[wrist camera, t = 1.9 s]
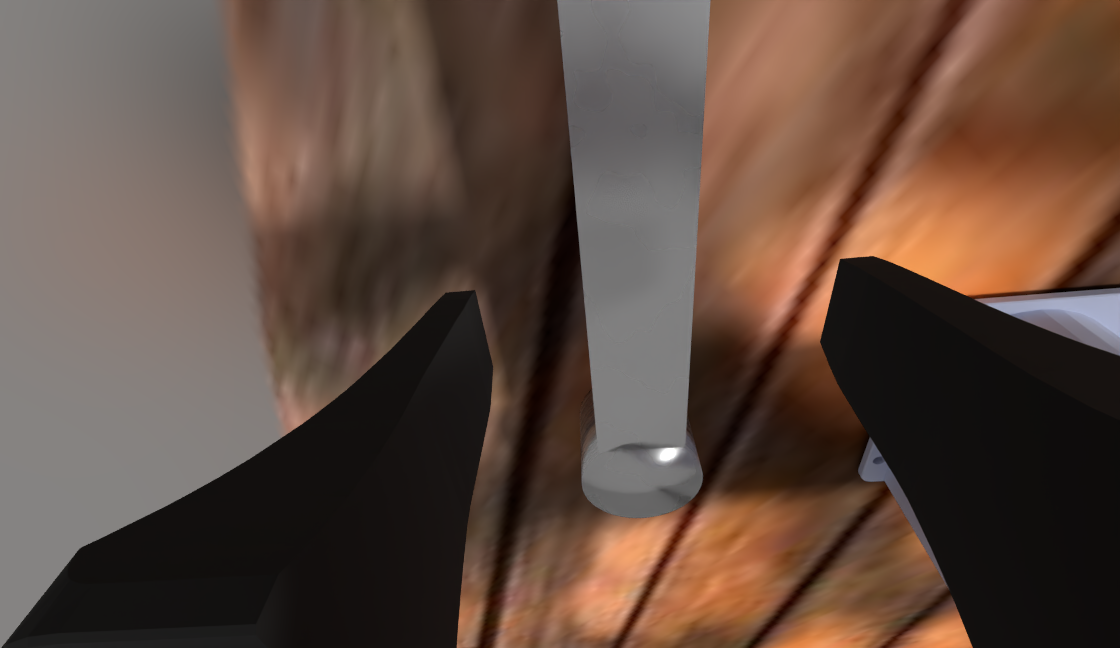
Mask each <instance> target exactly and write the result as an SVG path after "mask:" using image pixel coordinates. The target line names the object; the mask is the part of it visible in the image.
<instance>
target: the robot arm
mask: <svg viewBox="0 0 1120 648" xmlns="http://www.w3.org/2000/svg"><path fill="white" fill-rule="evenodd" d="M820 343H821V345H822V348H823V350H824V353H825V355H826V358H827V361H828V363H829V366H830V368H831V370H832V372H833V375H834V377H835V379H836V381H837V384H838V385H839V387H840V389H841V390H842V392H843V394H844V396H845V397H846V399H847V400H848V402H849V404H850V405H851V407H852V409H853V410H854V412H855V414H856V415H857V417H858V419H859V420H860V422H861V423H862V425H863V427H864V428H865V430H866V431H867V433H868V435H869V436H870V438H869V441H868V444H867V446H866V449H865V452H864V455H863V458H862V460H861V463H860V466H859V469H858V473H859V475H860V476H861V478H862V479H863V480H865V481H869V482H873V481H885V483H886V484H887V486H888V488H889V489H890V491H891V493H892V494H893V496H894V498H895V499H896V501H897V503H898V505H899V506H900V508H901V510H902V511H903V513H904V515H905V516H906V518H907V520H908V521H909V523H910V525H911V526H912V528H913V530H914V531H915V533H916V535H917V536H918V538H919V540H920V541H921V543H922V545H923V547H924V548H925V550H926V552H927V553H928V555H929V557H930V558H931V560H932V562H933V563H934V565H935V567H936V568H937V570H938V572H939V573H940V575H941V577H942V578H943V580H944V582H945V584H946V585H947V587H948V589H949V590H950V593H951V595H952V597H953V599H954V602H955V604H956V607H957V609H958V612H959V614H960V617H961V619H962V622H963V624H964V627H965V629H966V632H967V634H968V637H969V639H970V642H971V644H972V647H973V648H1120V288H1112V289H1099V290H1086V291H1073V292H1060V293H1047V294H1034V295H1021V296H1008V297H995V298H982V299H972V298H970V297H968V296H966V295H963V294H961V293H959V292H957V291H954V290H952V289H950V288H948V287H946V286H943V285H941V284H939V283H937V282H934V281H932V280H930V279H928V278H926V277H923V276H921V275H919V274H917V273H914V272H912V271H910V270H908V269H905V268H903V267H901V266H898V265H896V264H893V263H891V262H888V261H886V260H883V259H880V258H877V257H874V256H869V257H857V258H846V259H840V262H839V266H838V270H837V274H836V278H835V283H834V287H833V291H832V295H831V299H830V303H829V307H828V312H827V316H826V320H825V324H824V328H823V332H822V336H821V341H820ZM492 376H493V365H492V360H491V356H490V352H489V348H488V343H487V339H486V335H485V330H484V326H483V322H482V318H481V313H480V309H479V305H478V300H477V296H476V292H475V290H472V291H461V292H449V293H445V294H444V295H443V296H442V297H441V298H440V299H439V300H438V301H437V302H436V303H435V304H434V305H433V306H432V307H431V308H430V309H429V310H428V311H427V312H426V313H425V315H424V316H423V317H422V318H421V319H420V320H419V321H418V322H417V323H416V324H415V325H414V326H413V327H412V328H411V329H410V330H409V331H408V332H407V333H406V334H405V335H404V336H403V337H402V339H401V340H400V341H399V342H398V343H397V344H396V345H395V346H394V347H393V348H392V349H391V350H390V351H389V352H388V353H387V354H385V355H384V356H383V357H382V358H381V359H380V360H379V361H378V362H377V363H376V364H375V365H374V366H372V367H371V368H370V369H369V370H368V371H367V372H366V373H365V374H364V375H363V376H362V377H361V378H360V379H358V380H357V381H356V382H355V383H354V384H353V385H352V386H350V387H349V388H348V389H347V390H346V391H345V392H343V393H342V394H341V395H340V396H338V397H337V398H336V399H335V400H333V401H332V402H331V403H330V404H328V405H327V406H326V407H324V408H323V409H322V410H320V411H319V412H318V413H317V414H315V415H314V416H313V417H311V418H310V419H309V420H307V421H306V422H304V423H303V424H302V425H300V426H299V427H297V428H296V429H294V430H293V431H291V432H290V433H288V434H287V435H285V436H284V437H282V438H281V439H279V440H278V441H276V442H275V443H273V444H272V445H270V446H269V447H267V448H266V449H264V450H263V451H261V452H260V453H258V454H257V455H255V456H254V457H252V458H251V459H249V460H247V461H246V462H244V463H242V464H241V465H239V466H237V467H236V468H234V469H232V470H230V471H229V472H227V473H225V474H224V475H222V476H221V477H219V478H217V479H215V480H213V481H212V482H210V483H208V484H206V485H204V486H203V487H201V488H199V489H197V490H196V491H194V492H192V493H190V494H188V495H186V496H185V497H183V498H181V499H179V500H177V501H175V502H173V503H171V504H170V505H168V506H166V507H164V508H162V509H160V510H157V511H155V512H153V513H151V514H150V515H147V516H145V517H143V518H141V519H139V520H137V521H135V522H133V523H132V524H129V525H127V526H125V527H123V528H121V529H119V530H117V531H115V532H113V533H111V534H109V535H107V536H105V537H103V538H101V539H99V540H97V541H94V542H92V543H90V544H88V545H86V546H84V547H82V548H80V549H79V550H78V551H77V553H76V554H75V555H74V557H73V558H72V559H71V560H70V562H69V563H68V564H67V566H66V567H65V568H64V569H63V570H62V572H61V573H60V574H59V576H58V577H57V578H56V579H55V581H54V582H53V583H52V585H51V586H50V587H49V588H48V590H47V591H46V592H45V593H44V595H43V596H42V597H41V598H40V600H39V601H38V602H37V603H36V605H35V606H34V607H33V609H32V610H31V611H30V612H29V614H28V615H27V616H26V617H25V619H24V620H23V621H22V622H21V624H20V625H19V626H18V627H17V629H16V630H15V631H14V633H13V634H12V635H11V636H10V638H9V639H8V640H7V642H6V643H5V644H4V645H3V646H2V648H457V633H458V619H459V607H460V595H461V583H462V572H463V562H464V552H465V542H466V532H467V523H468V517H469V511H470V505H471V500H472V495H473V490H474V485H475V480H476V476H477V471H478V466H479V461H480V457H481V452H482V447H483V442H484V437H485V432H486V427H487V422H488V417H489V412H490V405H491V392H492Z"/></svg>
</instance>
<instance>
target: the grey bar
mask: <svg viewBox="0 0 1120 648" xmlns="http://www.w3.org/2000/svg"><path fill="white" fill-rule="evenodd" d="M557 2H558V13H559V24H560V35H561V46H562V57H563V69H564V80H565V91H566V102H567V113H568V124H569V135H570V146H571V158H572V169H573V180H574V191H575V202H576V213H577V224H578V235H579V247H580V258H581V269H582V280H583V291H584V302H585V313H586V325H587V336H588V347H589V358H590V369H591V380H592V390H591V391H590V392H589V393H588V394H587V395H586V397H585V398H584V400H583V402H582V404H581V407H580V439H581V472H582V488H583V492H584V494H585V496H586V497H587V499H588V500H589V501H590V502H591V503H592V504H593V505H594V506H596V507H597V508H599V509H601V510H602V511H605V512H607V513H610V514H613V515H616V516H621V517H628V518H647V517H654V516H659V515H663V514H666V513H669V512H672V511H674V510H676V509H678V508H680V507H682V506H684V505H685V504H687V503H688V502H689V501H690V500H691V499H693V498H694V496H695V495H696V494H697V493H698V491H699V489H700V487H701V485H702V480H703V473H702V469H701V465H700V461H699V457H698V453H697V449H696V446H695V442H694V438H693V434H692V430H691V426H690V422H689V419H688V415H687V405H688V388H689V370H690V352H691V334H692V317H693V299H694V281H695V263H696V245H697V228H698V210H699V192H700V174H701V157H702V139H703V121H704V103H705V85H706V68H707V50H708V32H709V14H710V0H557Z"/></svg>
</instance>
